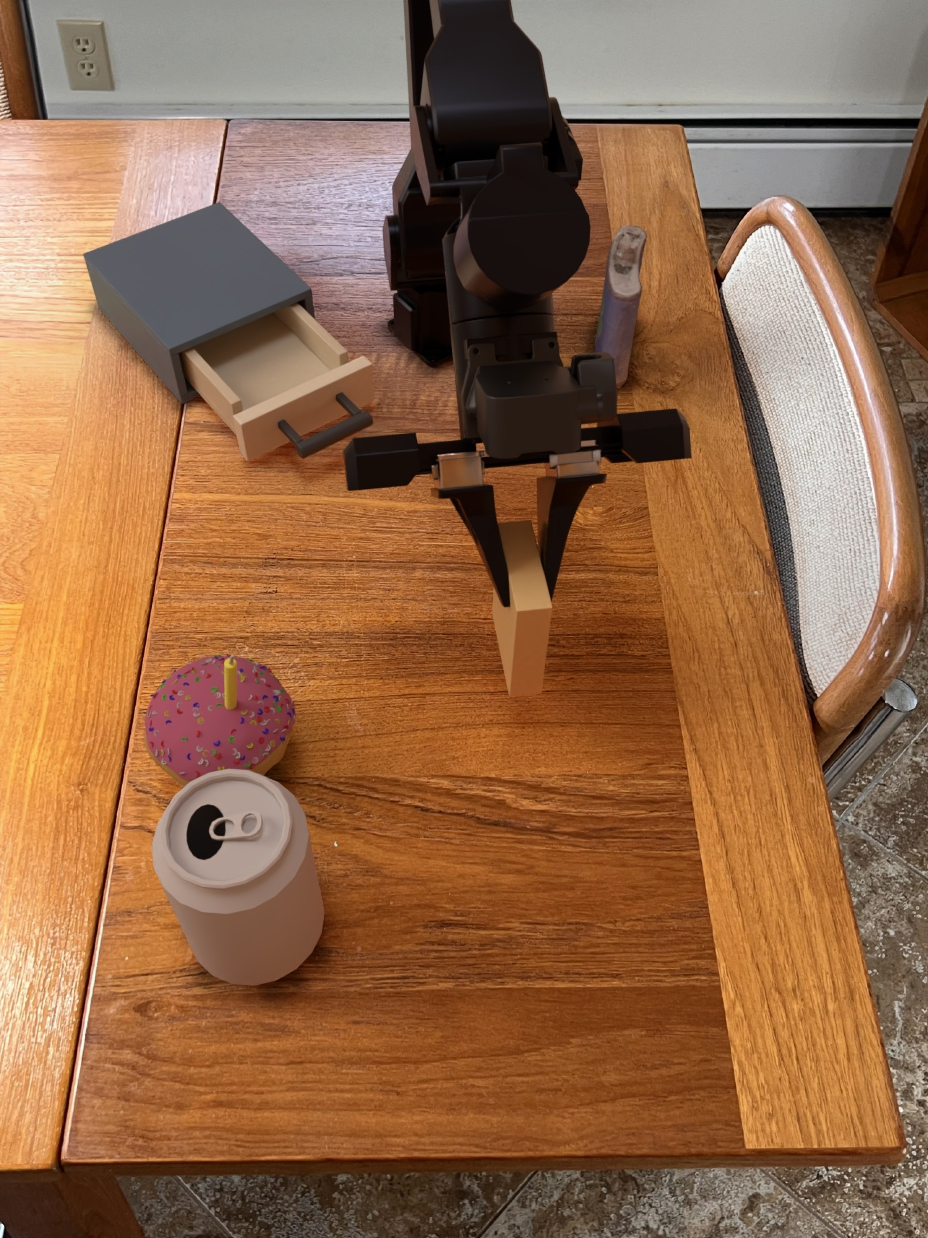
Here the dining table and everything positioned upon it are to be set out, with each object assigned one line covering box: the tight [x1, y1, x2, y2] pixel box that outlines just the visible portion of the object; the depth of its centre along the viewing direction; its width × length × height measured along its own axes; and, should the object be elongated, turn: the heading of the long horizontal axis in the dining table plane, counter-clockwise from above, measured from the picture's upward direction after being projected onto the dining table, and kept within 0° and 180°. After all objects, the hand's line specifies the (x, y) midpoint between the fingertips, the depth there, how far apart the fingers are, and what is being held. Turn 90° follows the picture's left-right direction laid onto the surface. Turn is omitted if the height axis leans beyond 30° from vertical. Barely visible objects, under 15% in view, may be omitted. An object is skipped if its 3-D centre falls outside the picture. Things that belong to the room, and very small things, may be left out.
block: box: [491, 519, 553, 698], centre depth 68 cm, size 6×2×8 cm, turn 8°
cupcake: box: [144, 653, 297, 787], centre depth 65 cm, size 9×8×12 cm
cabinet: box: [82, 201, 316, 405], centre depth 93 cm, size 14×12×5 cm
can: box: [151, 769, 325, 987], centre depth 59 cm, size 8×8×12 cm
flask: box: [593, 224, 648, 389], centre depth 89 cm, size 9×3×11 cm, turn 172°
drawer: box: [179, 302, 375, 462], centre depth 87 cm, size 17×11×4 cm, turn 37°
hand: (526, 604), depth 65 cm, fingers closed on block, 2 cm apart
